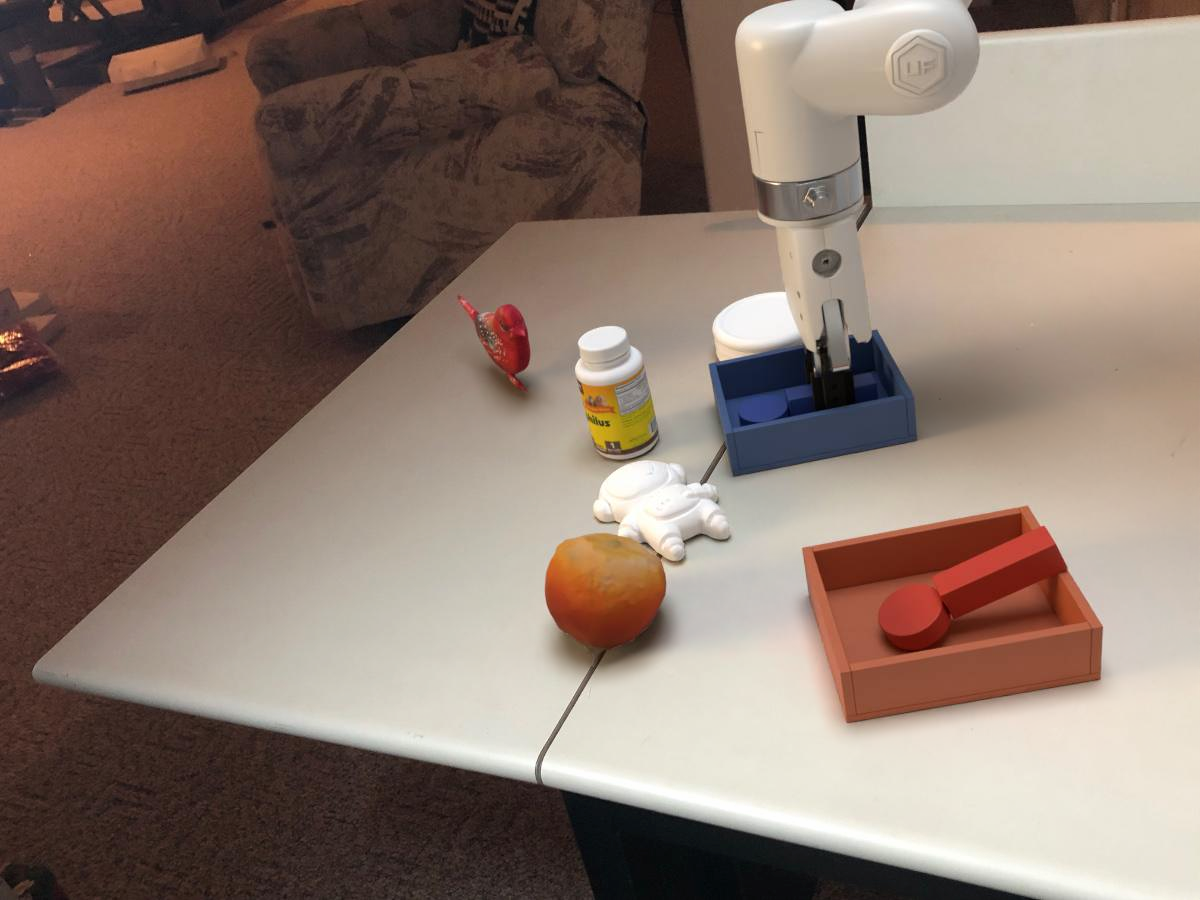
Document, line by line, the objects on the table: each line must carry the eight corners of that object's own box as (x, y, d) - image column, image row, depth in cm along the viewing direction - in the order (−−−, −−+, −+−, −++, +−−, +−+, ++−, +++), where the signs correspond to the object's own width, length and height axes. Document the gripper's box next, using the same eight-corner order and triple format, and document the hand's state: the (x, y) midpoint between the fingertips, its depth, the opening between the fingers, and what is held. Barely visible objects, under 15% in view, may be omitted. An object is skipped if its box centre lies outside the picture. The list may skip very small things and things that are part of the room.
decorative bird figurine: (533, 417, 98) (504, 320, 92) (462, 353, 112) (433, 265, 106) (560, 404, 99) (533, 307, 93) (486, 343, 113) (459, 255, 107)
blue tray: (880, 370, 92) (877, 328, 90) (917, 440, 82) (914, 396, 80) (715, 403, 93) (708, 363, 91) (733, 476, 84) (725, 433, 82)
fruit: (506, 633, 72) (529, 520, 70) (596, 621, 77) (619, 516, 75) (581, 689, 66) (608, 568, 64) (672, 672, 71) (700, 560, 70)
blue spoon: (870, 388, 89) (868, 365, 87) (882, 413, 85) (880, 389, 84) (737, 414, 90) (733, 391, 88) (744, 440, 86) (740, 417, 85)
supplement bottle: (584, 444, 92) (556, 339, 87) (640, 417, 94) (615, 313, 88) (614, 471, 88) (587, 362, 82) (672, 443, 89) (649, 334, 84)
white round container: (695, 361, 100) (688, 327, 98) (766, 314, 105) (761, 281, 103) (777, 388, 93) (772, 353, 91) (850, 336, 98) (846, 302, 96)
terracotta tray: (1027, 554, 70) (1027, 504, 68) (1100, 678, 60) (1103, 626, 58) (808, 594, 71) (801, 547, 69) (846, 723, 62) (840, 673, 59)
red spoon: (1049, 538, 64) (1036, 513, 63) (1076, 581, 61) (1063, 555, 60) (879, 615, 67) (865, 592, 66) (896, 660, 64) (881, 637, 63)
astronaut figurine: (642, 580, 76) (634, 547, 74) (581, 499, 85) (572, 468, 84) (752, 531, 78) (746, 498, 76) (679, 458, 87) (672, 426, 86)
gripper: (889, 216, 70) (905, 449, 80) (837, 142, 83) (856, 350, 93) (774, 240, 71) (804, 468, 81) (740, 163, 84) (770, 367, 94)
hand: (832, 403), depth 87 cm, fingers closed on blue spoon, 1 cm apart
